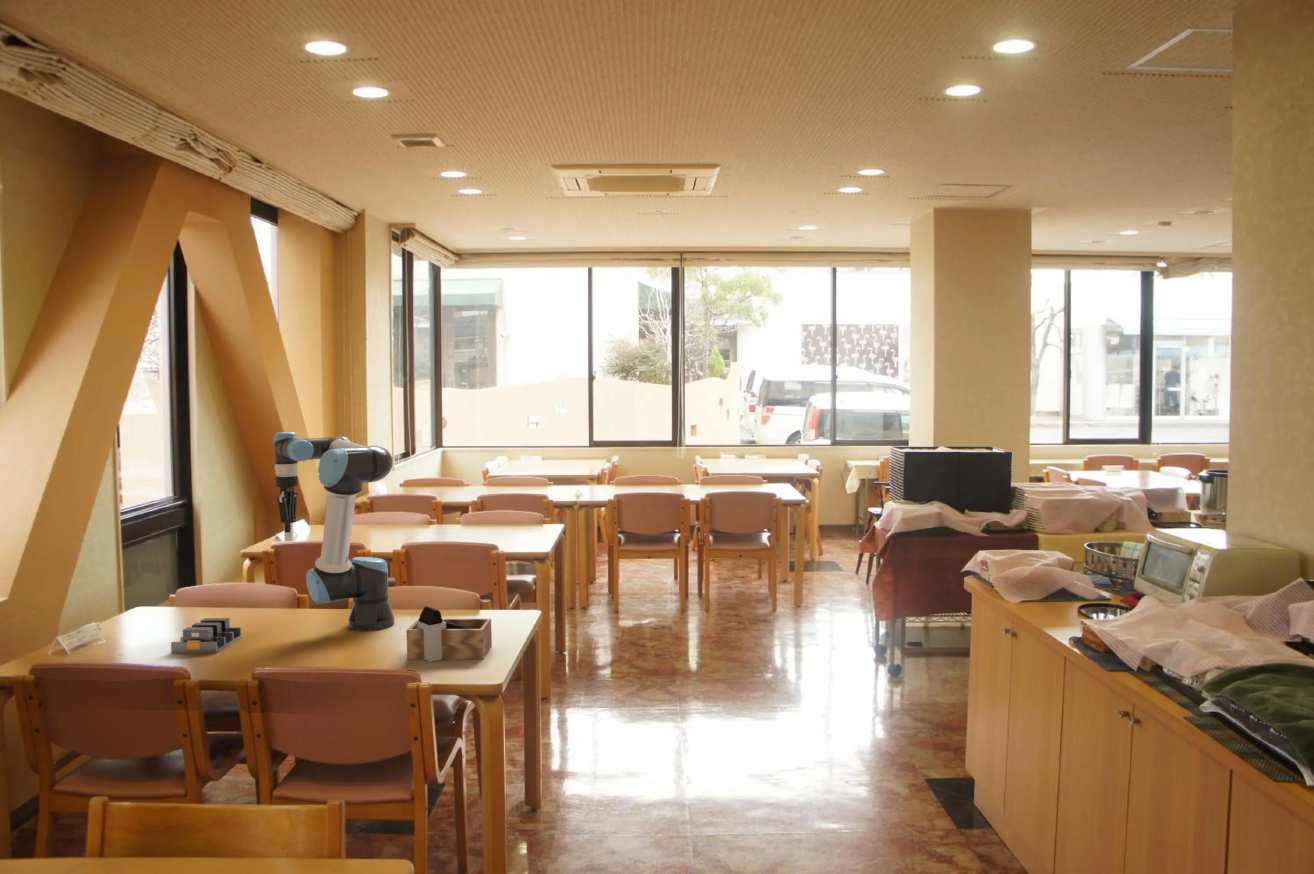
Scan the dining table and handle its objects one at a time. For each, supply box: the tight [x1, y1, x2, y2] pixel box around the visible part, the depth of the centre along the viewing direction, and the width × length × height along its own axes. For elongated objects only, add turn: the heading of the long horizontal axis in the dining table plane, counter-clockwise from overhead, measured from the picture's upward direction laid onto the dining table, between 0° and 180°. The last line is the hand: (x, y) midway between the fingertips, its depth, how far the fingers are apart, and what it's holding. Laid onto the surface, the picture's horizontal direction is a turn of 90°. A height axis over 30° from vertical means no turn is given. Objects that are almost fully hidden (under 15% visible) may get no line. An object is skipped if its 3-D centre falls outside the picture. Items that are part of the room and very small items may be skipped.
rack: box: [170, 617, 242, 655], centre depth 304 cm, size 14×17×7 cm
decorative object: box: [417, 605, 472, 663], centre depth 293 cm, size 8×18×15 cm, turn 132°
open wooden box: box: [405, 618, 493, 661], centre depth 293 cm, size 23×13×9 cm, turn 89°
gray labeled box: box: [182, 626, 213, 642], centre depth 298 cm, size 8×3×6 cm, turn 89°
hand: (289, 540), depth 342 cm, fingers closed
